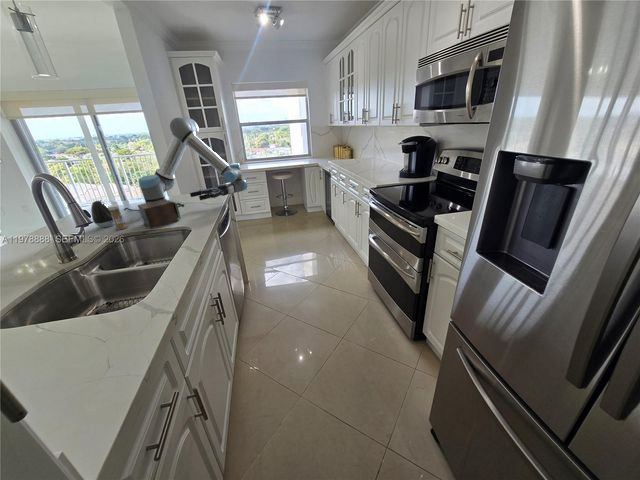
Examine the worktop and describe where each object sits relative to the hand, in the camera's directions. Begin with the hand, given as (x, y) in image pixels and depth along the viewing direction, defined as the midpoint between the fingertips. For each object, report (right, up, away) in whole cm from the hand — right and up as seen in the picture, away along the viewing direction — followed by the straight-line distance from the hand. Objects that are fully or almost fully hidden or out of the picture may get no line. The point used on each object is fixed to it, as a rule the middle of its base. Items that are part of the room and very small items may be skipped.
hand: (194, 196), depth 162 cm
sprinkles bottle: (-34, -21, -16) cm, 43 cm away
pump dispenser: (-47, -19, -10) cm, 52 cm away
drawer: (-12, -15, -7) cm, 20 cm away
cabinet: (-15, -17, -10) cm, 25 cm away
